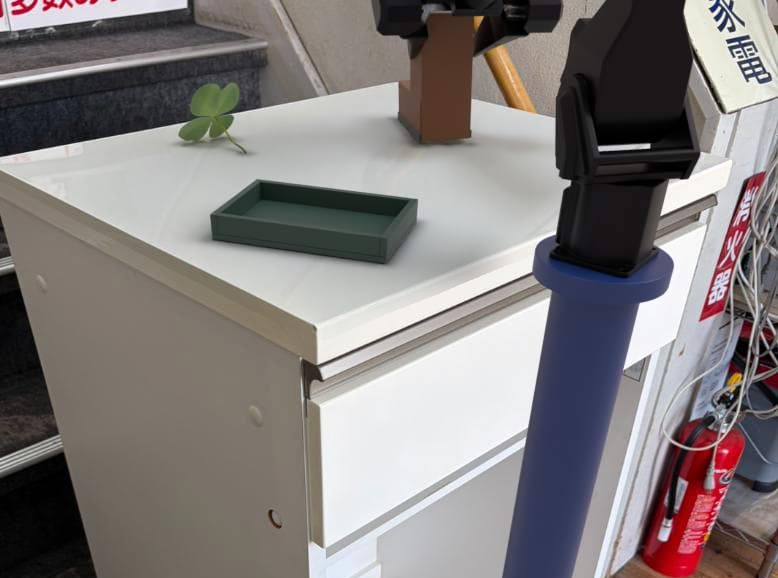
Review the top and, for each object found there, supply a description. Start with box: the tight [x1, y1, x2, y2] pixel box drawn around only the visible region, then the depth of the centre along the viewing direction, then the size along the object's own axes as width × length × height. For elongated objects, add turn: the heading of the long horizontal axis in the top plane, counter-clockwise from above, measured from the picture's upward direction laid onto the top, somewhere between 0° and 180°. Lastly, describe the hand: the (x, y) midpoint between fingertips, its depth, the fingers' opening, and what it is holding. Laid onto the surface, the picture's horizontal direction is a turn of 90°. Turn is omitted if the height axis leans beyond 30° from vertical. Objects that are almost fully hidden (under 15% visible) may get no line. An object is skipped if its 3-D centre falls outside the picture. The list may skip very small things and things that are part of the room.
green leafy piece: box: [177, 81, 248, 155], centre depth 86 cm, size 7×8×6 cm
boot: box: [397, 13, 475, 143], centre depth 90 cm, size 11×6×14 cm, turn 11°
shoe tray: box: [209, 178, 419, 264], centre depth 69 cm, size 15×10×2 cm, turn 74°
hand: (441, 54), depth 88 cm, fingers closed on boot, 6 cm apart
